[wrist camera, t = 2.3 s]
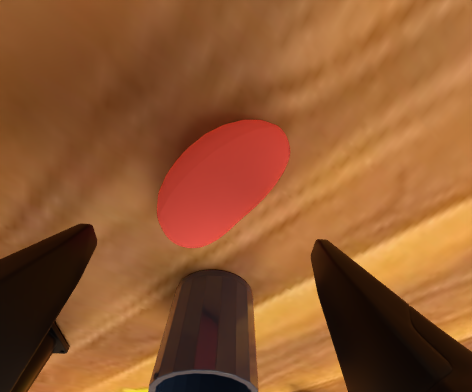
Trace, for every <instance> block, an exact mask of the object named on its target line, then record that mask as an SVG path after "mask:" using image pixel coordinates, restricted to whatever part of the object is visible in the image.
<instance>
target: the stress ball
mask: <svg viewBox="0 0 472 392" xmlns="http://www.w3.org/2000/svg"><path fill="white" fill-rule="evenodd" d="M289 157H290V146H289V142H288V139H287V137H286V135H285V133H284V132H283V130H282V129H281V128H280V127H278V126H277V125H275V124H272V123H269V122H266V121H263V120H241V121H237V122H233V123H229V124H225V125H222V126H220V127H218V128H216V129H214V130H212V131H210V132H208V133H206V134H204V135H203V136H202V137H201V138H199V139H198V140H197V141H196V142H194V143H193V144H192V145H191V146H189V147H188V148H187V149H186V150H185V151H184V152H183V153H182V155H181V156H180V157H179V158H178V159H177V161H176V162H175V163H174V164H173V166H172V167H171V169H170V170H169V171H168V173H167V175H166V177H165V179H164V181H163V183H162V186H161V188H160V190H159V193H158V203H157V217H158V221H159V224H160V226H161V228H162V230H163V231H164V233H165V235H166V236H167V237H168V238H169V239H170V240H171V241H172V242H173V243H175V244H177V245H179V246H182V247H186V248H199V247H203V246H206V245H208V244H210V243H212V242H214V241H216V240H217V239H219V238H220V237H222V236H223V235H224V234H226V233H227V232H228V231H229V230H230V229H231V228H232V227H233V226H234V225H235V224H236V223H238V222H239V221H240V220H241V219H242V218H243V217H244V216H245V215H247V214H248V213H249V212H250V211H251V210H252V209H253V208H255V207H256V206H257V205H258V204H259V203H260V202H261V201H262V200H263V199H264V198H265V197H266V195H267V194H268V193H269V192H270V191H271V189H272V188H273V187H274V186H275V185H276V183H277V182H278V180H279V179H280V177H281V175H282V174H283V172H284V170H285V168H286V166H287V163H288V161H289Z"/></svg>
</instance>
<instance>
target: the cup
mask: <svg viewBox="0 0 472 392" xmlns="http://www.w3.org/2000/svg"><path fill="white" fill-rule="evenodd" d="M148 392H259V388H258V372H257V355H256V339H255V323H254V307H253V294H252V290H251V288H250V286H249V285H248V284H247V282H245V281H244V280H243V279H242V278H240V277H239V276H237V275H235V274H232V273H230V272H226V271H221V270H203V271H198V272H195V273H192V274H190V275H188V276H187V277H185V278H184V279H183V280H182V281H181V282H180V283H179V285H178V287H177V290H176V292H175V296H174V299H173V303H172V306H171V310H170V313H169V317H168V320H167V324H166V327H165V331H164V334H163V338H162V342H161V345H160V349H159V352H158V356H157V359H156V363H155V366H154V370H153V373H152V377H151V380H150V384H149V391H148Z"/></svg>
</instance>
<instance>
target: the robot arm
mask: <svg viewBox="0 0 472 392" xmlns="http://www.w3.org/2000/svg"><path fill="white" fill-rule="evenodd" d="M96 246H97V238H96V235H95V232H94V228H93V226H92V225H90V224H78V225H76V226H73V227H71V228H69V229H67V230H64V231H62V232H60V233H58V234H56V235H53V236H51V237H49V238H47V239H44V240H42V241H40V242H38V243H36V244H33V245H31V246H29V247H27V248H25V249H22V250H20V251H18V252H16V253H13V254H11V255H9V256H7V257H5V258H2V259H0V392H28V390H29V388H30V387H31V385H32V384H33V382H34V381H35V379H36V378H37V376H38V375H39V373H40V372H41V370H42V369H43V367H44V366H45V364H46V362H47V361H48V359H49V358H50V356H51V355H52V353H62V354H65V353H67V352H68V350H69V347H68V345H67V343H66V342H65V340H64V338H63V336H62V335H61V333H60V331H59V329H58V328H57V326H56V324H55V323H54V321H55V320H56V318H57V316H58V315H59V313H60V311H61V310H62V308H63V307H64V305H65V303H66V302H67V300H68V299H69V297H70V295H71V294H72V292H73V290H74V289H75V287H76V286H77V284H78V282H79V280H80V278H81V277H82V275H83V273H84V271H85V268H86V266H87V264H88V262H89V260H90V258H91V256H92V254H93V252H94V250H95V248H96ZM311 262H312V267H313V272H314V277H315V282H316V288H317V292H318V296H319V300H320V303H321V306H322V309H323V313H324V316H325V319H326V322H327V325H328V329H329V332H330V335H331V338H332V341H333V345H334V348H335V351H336V354H337V357H338V361H339V364H340V367H341V370H342V374H343V377H344V380H345V383H346V386H347V390H348V392H472V352H471V351H470V350H469V349H467V348H466V347H464V346H463V345H462V344H460V343H459V342H457V341H456V340H455V339H453V338H452V337H451V336H449V335H448V334H446V333H445V332H444V331H442V330H441V329H440V328H438V327H437V326H436V325H434V324H433V323H432V322H431V321H429V320H428V319H427V318H425V317H424V316H423V315H421V314H420V313H419V312H418V311H416V310H415V309H414V308H413V307H411V306H409V304H407V303H406V302H405V301H404V300H402V299H401V298H400V297H399V296H397V295H396V294H395V293H394V292H392V291H391V290H390V289H389V288H387V287H386V286H385V285H384V284H382V283H381V282H380V281H378V280H377V279H376V278H375V277H373V276H372V275H371V274H370V273H368V272H367V271H366V270H365V269H363V268H362V267H361V266H360V265H358V264H357V263H356V262H354V261H353V260H352V259H351V258H349V257H348V256H347V255H346V254H344V253H343V252H342V251H341V250H339V249H338V248H337V247H336V246H334V245H333V244H332V243H331V242H329V241H328V240H323V239H317V240H316V241H315V244H314V247H313V250H312V253H311Z"/></svg>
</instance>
